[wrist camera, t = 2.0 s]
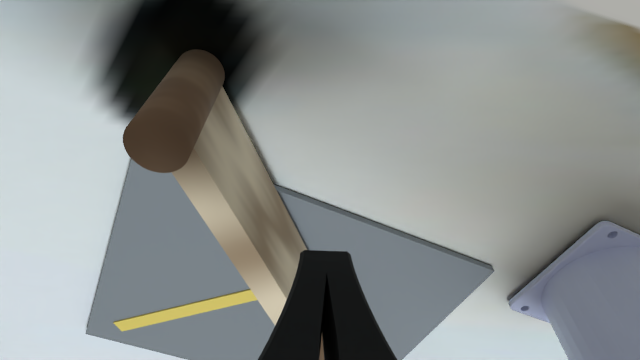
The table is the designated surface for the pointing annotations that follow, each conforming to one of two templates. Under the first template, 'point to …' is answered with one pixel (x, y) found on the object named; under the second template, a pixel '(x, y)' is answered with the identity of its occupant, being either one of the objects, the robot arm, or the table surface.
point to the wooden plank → (219, 174)
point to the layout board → (233, 292)
